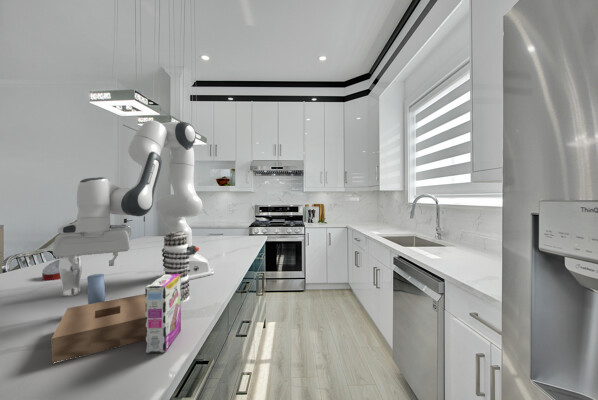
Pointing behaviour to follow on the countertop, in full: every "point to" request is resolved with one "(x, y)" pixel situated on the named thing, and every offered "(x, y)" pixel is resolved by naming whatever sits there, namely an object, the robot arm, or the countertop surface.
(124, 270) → the countertop surface
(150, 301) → the candy bar box
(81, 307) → the socket block
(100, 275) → the peg
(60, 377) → the countertop surface
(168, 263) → the decorative candle
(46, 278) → the red base snow globe
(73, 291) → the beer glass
